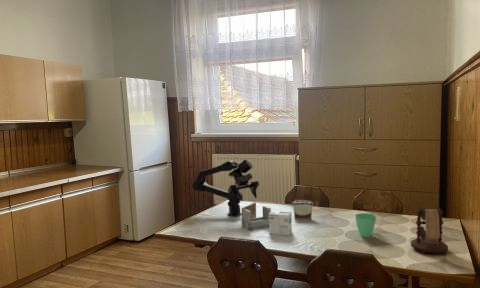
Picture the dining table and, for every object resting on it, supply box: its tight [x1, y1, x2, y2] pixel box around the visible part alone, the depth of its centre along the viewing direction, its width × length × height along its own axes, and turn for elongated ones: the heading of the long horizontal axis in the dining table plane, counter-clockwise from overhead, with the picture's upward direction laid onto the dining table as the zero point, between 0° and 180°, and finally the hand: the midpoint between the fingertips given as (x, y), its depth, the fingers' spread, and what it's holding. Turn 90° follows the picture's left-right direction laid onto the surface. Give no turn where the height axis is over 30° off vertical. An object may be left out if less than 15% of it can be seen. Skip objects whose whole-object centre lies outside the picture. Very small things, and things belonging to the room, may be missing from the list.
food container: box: [291, 199, 315, 220], centre depth 220 cm, size 12×6×10 cm, turn 84°
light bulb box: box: [268, 210, 293, 236], centre depth 194 cm, size 11×7×11 cm, turn 71°
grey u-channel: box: [241, 205, 272, 231], centre depth 205 cm, size 6×16×10 cm, turn 118°
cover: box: [241, 202, 257, 221], centre depth 211 cm, size 1×14×10 cm, turn 148°
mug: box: [355, 212, 377, 238], centre depth 189 cm, size 15×10×10 cm
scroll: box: [410, 205, 449, 254], centre depth 166 cm, size 15×15×20 cm
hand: (249, 199), depth 217 cm, fingers open, 9 cm apart
